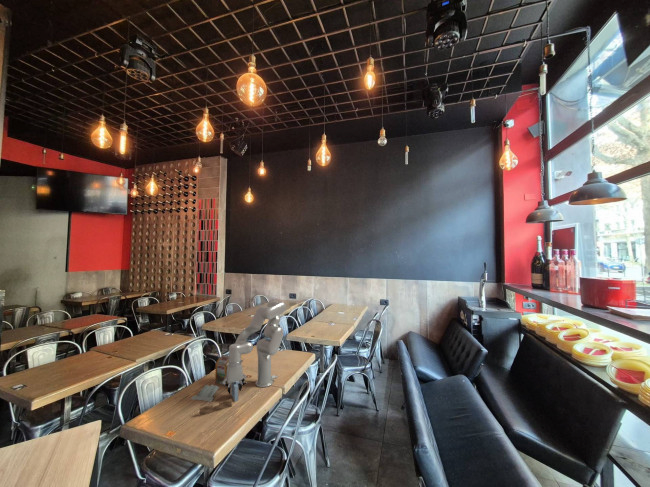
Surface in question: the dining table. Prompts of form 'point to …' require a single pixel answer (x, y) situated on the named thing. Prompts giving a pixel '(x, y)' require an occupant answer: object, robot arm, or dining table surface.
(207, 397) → the metal bracket
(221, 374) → the milk carton
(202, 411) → the walnut board
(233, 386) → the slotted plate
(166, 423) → the dining table surface
